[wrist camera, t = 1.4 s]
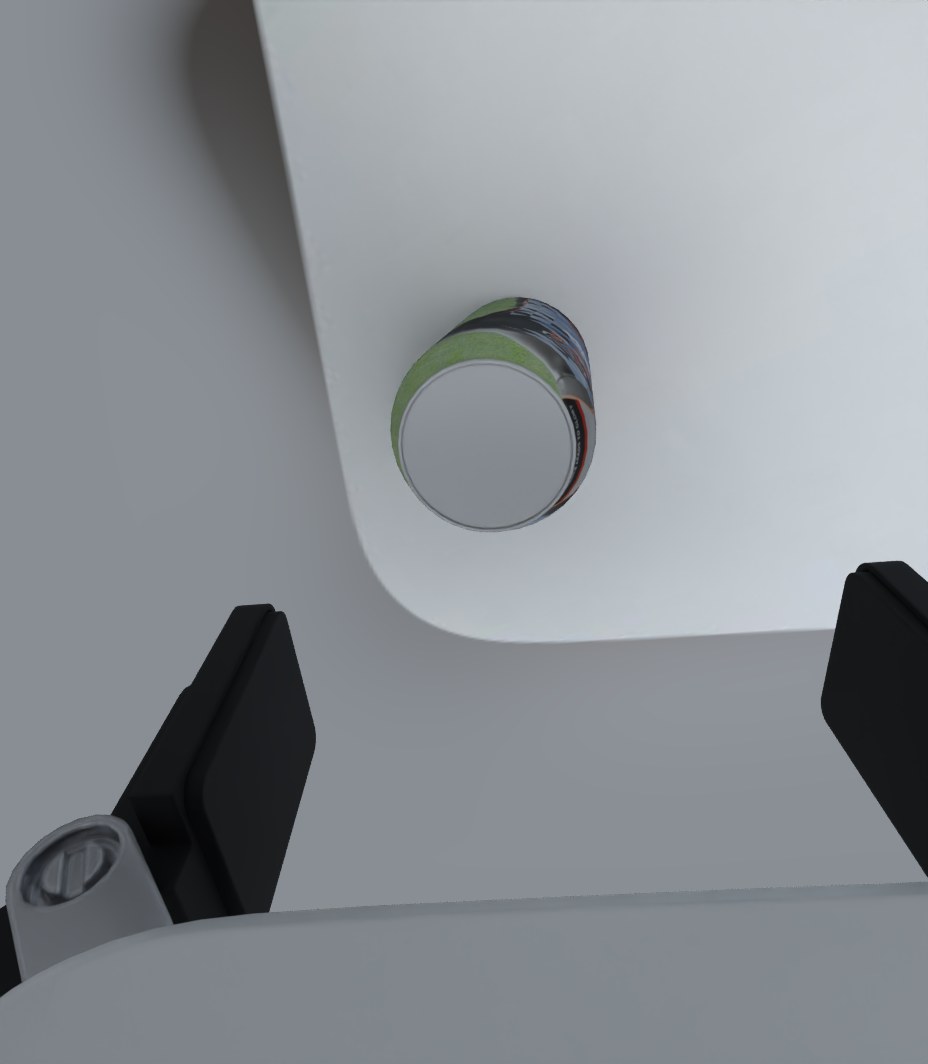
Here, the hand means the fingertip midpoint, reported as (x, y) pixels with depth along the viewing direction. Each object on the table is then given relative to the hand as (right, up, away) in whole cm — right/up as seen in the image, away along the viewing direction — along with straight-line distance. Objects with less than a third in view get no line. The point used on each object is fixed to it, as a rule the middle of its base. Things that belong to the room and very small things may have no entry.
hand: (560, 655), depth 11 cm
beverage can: (0, +10, +17) cm, 20 cm away
